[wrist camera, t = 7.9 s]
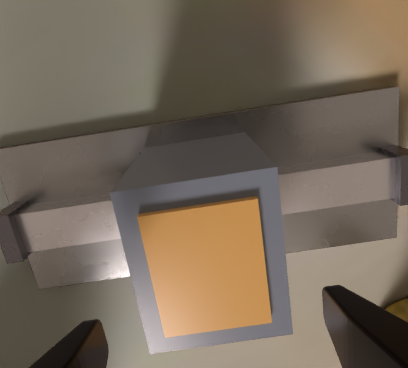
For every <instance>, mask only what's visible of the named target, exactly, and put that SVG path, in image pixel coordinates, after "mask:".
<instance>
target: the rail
mask: <svg viewBox="0 0 408 368" xmlns="http://www.w3.org/2000/svg"><path fill="white" fill-rule="evenodd" d="M242 132H245V133H246V134H247V135H248V136H249V137H250V138H251V139H252V140H253V141H254V142H255V143H256V144H257V146H258V147H259V148H260V149H261V150H262V151H263V152H264V153H265V154H266V155H267V156H268V157H269V158H270V160H271V161H272V162H273V163H274V164H275V165H276V166H277V168H278V179H279V190H280V201H281V212H282V222H283V233H284V244H285V254H286V253H293V252H300V251H307V250H314V249H321V248H328V247H335V246H341V245H348V244H355V243H362V242H369V241H376V240H383V239H390V238H397V204H398V205H400V206H401V205H408V149H406V148H403V147H400V146H398V135H399V87H396V86H392V87H385V88H379V89H373V90H366V91H360V92H353V93H347V94H341V95H334V96H328V97H322V98H315V99H309V100H302V101H296V102H290V103H283V104H277V105H271V106H264V107H258V108H251V109H245V110H239V111H232V112H226V113H220V114H213V115H207V116H200V117H194V118H188V119H181V120H175V121H169V122H162V123H156V124H149V125H143V126H137V127H130V128H124V129H118V130H111V131H105V132H98V133H92V134H86V135H79V136H73V137H67V138H60V139H54V140H47V141H41V142H35V143H28V144H22V145H16V146H9V147H3V148H0V178H1V181H2V184H3V186H4V189H5V192H6V195H7V198H8V201H9V204H10V205H9V206H8V207H6V208H5V209H3V210H2V211H0V246H1V248H2V251H3V254H4V256H5V259H6V262H7V264H8V263H15V262H22V261H24V260H25V259H26V258H27V257H28V259H29V262H30V265H31V268H32V271H33V274H34V276H35V279H36V282H37V285H38V288H39V289H45V288H52V287H59V286H66V285H73V284H80V283H86V282H93V281H100V280H107V279H114V278H121V277H128V276H130V272H129V268H128V264H127V260H126V256H125V252H124V248H123V244H122V240H121V236H120V232H119V228H118V224H117V220H116V216H115V212H114V208H113V204H112V200H111V196H110V191H111V190H112V189H113V188H114V186H115V185H116V184H117V183H118V181H119V180H120V179H121V177H122V176H123V175H124V174H125V172H126V171H127V170H128V169H129V167H130V166H131V165H132V163H133V162H134V161H135V160H136V158H137V157H138V156H139V155H140V153H141V152H142V151H143V149H144V148H147V147H153V146H160V145H166V144H172V143H179V142H185V141H191V140H198V139H204V138H210V137H217V136H223V135H230V134H236V133H242Z"/></svg>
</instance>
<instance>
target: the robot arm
mask: <svg viewBox="0 0 408 368" xmlns="http://www.w3.org/2000/svg"><path fill="white" fill-rule="evenodd" d="M322 297H323V314H324V320H325V324H326V326H327V329H328V332H329V334H330V337H331V339H332V342H333V344H334V347H335V350H336V352H337V355H338V357H339V360H340V363H341V365H342V368H408V322H407V321H405V320H403V319H401V318H399V317H398V316H396V315H394V314H392V313H390V312H388V311H387V310H385V309H383V308H381V307H379V306H377V305H376V304H374V303H372V302H370V301H368V300H366V299H365V298H363V297H361V296H359V295H357V294H355V293H354V292H352V291H350V290H348V289H346V288H344V287H343V286H340V285H334V286H327V287H324V288H323V291H322ZM107 360H108V344H107V340H106V337H105V333H104V330H103V326H102V323H101V322H100V320H98V319H95V320H88V321H83V322H82V323H80V324H79V325H78V326H77V327H76V328H75V329H73V330H72V331H71V332H70V333H69V334H68V335H66V336H65V337H64V338H63V339H62V340H61V341H59V342H58V343H57V344H56V345H55V346H54V347H52V348H51V349H50V350H49V351H48V352H47V353H45V354H44V355H43V356H42V357H41V358H40V359H38V360H37V361H36V362H35V363H34V364H33V365H32V366H30V367H29V368H106V366H107Z"/></svg>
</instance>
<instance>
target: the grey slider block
mask: <svg viewBox="0 0 408 368" xmlns="http://www.w3.org/2000/svg"><path fill="white" fill-rule="evenodd" d="M110 196H111V200H112V204H113V208H114V212H115V216H116V220H117V224H118V228H119V232H120V236H121V240H122V244H123V248H124V252H125V256H126V260H127V264H128V268H129V272H130V276H131V280H132V284H133V288H134V292H135V296H136V300H137V304H138V308H139V312H140V316H141V320H142V324H143V328H144V332H145V336H146V340H147V344H148V348H149V352H150V354H154V353H161V352H168V351H176V350H183V349H190V348H197V347H204V346H211V345H218V344H225V343H233V342H240V341H247V340H254V339H261V338H268V337H275V336H283V335H290V334H293V330H292V319H291V308H290V298H289V287H288V276H287V265H286V255H285V244H284V233H283V222H282V212H281V201H280V190H279V179H278V168H277V166H276V165H275V164H274V163H273V162H272V161H271V160H270V158H269V157H268V156H267V155H266V154H265V153H264V152H263V151H262V150H261V149H260V148H259V147H258V146H257V144H256V143H255V142H254V141H253V140H252V139H251V138H250V137H249V136H248V135H247V134H246V133H245V132H242V133H236V134H230V135H223V136H217V137H210V138H204V139H198V140H191V141H185V142H179V143H172V144H166V145H160V146H153V147H147V148H144V149H143V151H142V152H141V153H140V155H139V156H138V157H137V158H136V160H135V161H134V162H133V163H132V165H131V166H130V167H129V169H128V170H127V171H126V172H125V174H124V175H123V176H122V177H121V179H120V180H119V181H118V183H117V184H116V185H115V186H114V188H113V189H112V190H111V191H110Z"/></svg>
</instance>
